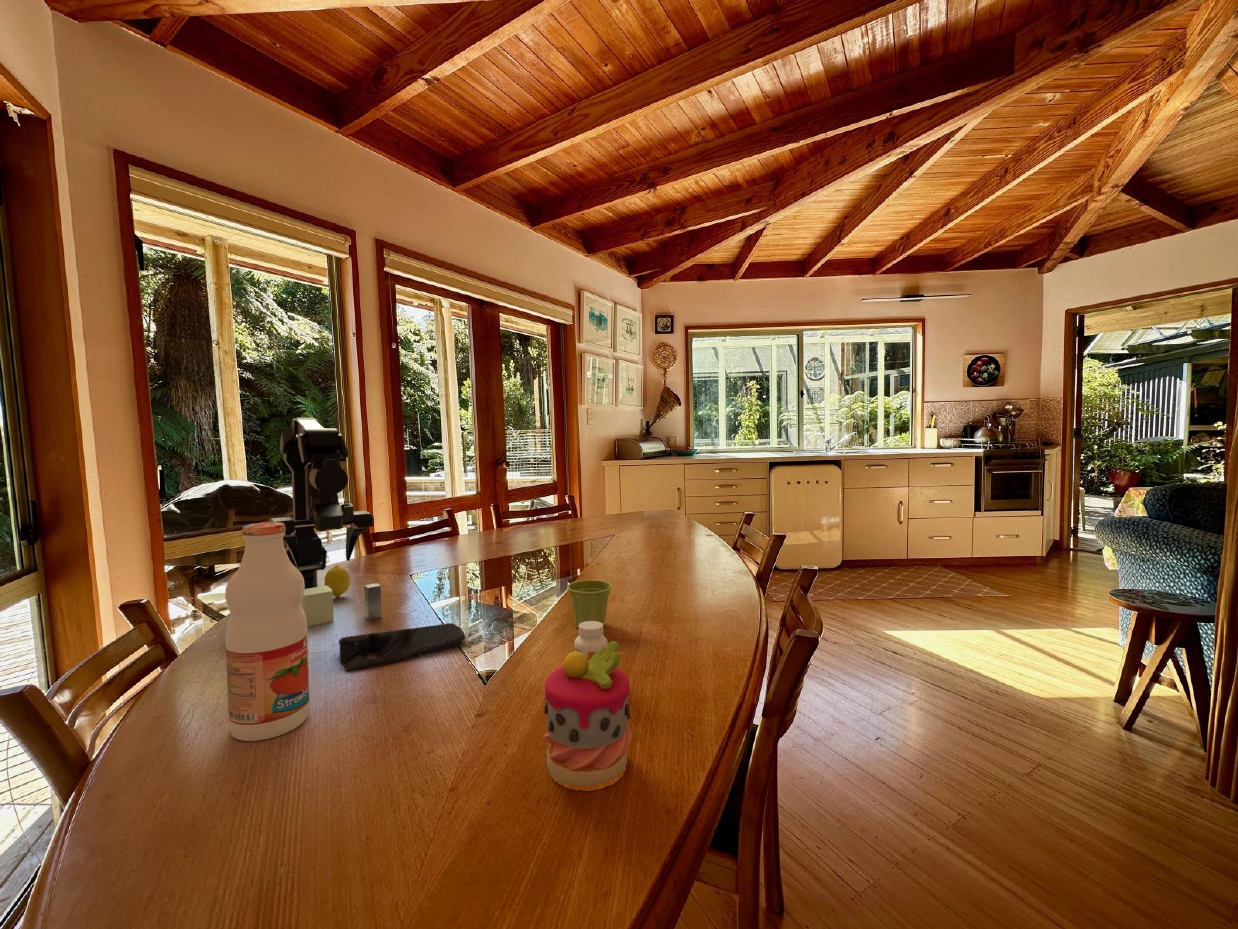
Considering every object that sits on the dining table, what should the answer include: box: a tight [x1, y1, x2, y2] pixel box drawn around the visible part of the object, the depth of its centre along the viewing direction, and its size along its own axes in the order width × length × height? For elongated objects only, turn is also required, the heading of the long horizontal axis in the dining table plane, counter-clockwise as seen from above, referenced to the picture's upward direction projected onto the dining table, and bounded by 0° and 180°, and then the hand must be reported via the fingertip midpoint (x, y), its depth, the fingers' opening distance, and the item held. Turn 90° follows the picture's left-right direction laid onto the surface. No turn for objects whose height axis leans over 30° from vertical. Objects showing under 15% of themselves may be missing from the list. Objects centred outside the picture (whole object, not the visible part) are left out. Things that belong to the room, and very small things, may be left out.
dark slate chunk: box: [338, 622, 466, 672], centre depth 101 cm, size 15×22×5 cm
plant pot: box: [567, 579, 613, 626], centre depth 113 cm, size 9×9×9 cm
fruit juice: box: [224, 521, 310, 742], centre depth 74 cm, size 9×9×28 cm
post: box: [364, 582, 382, 621], centre depth 118 cm, size 3×3×7 cm
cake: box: [541, 640, 633, 787], centre depth 65 cm, size 10×11×15 cm
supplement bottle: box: [573, 621, 609, 661], centre depth 87 cm, size 5×5×10 cm
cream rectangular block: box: [301, 585, 334, 627], centre depth 115 cm, size 5×5×7 cm
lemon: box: [324, 565, 351, 599], centre depth 131 cm, size 6×6×8 cm
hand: (323, 563), depth 112 cm, fingers open, 9 cm apart
